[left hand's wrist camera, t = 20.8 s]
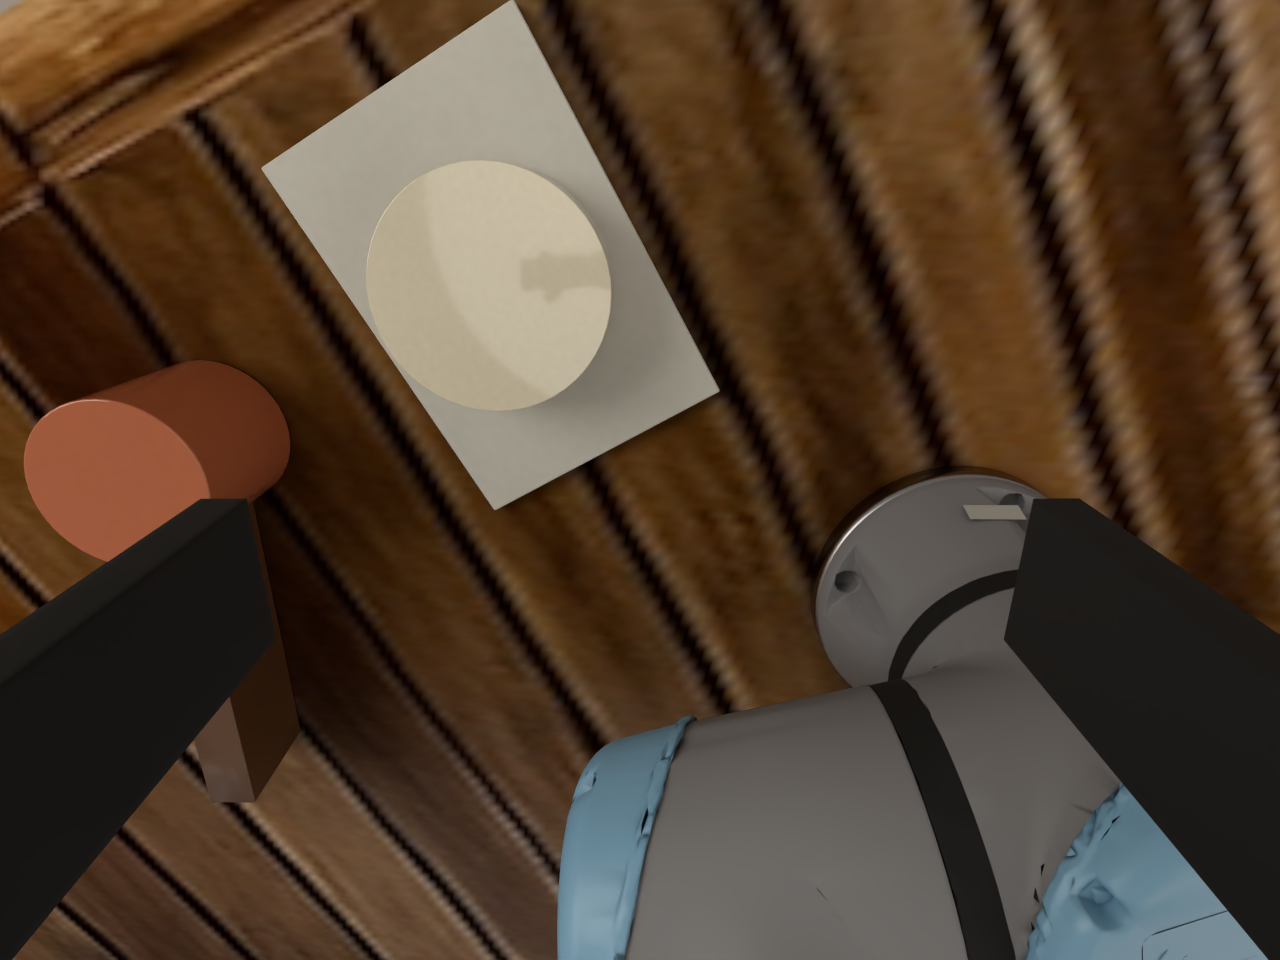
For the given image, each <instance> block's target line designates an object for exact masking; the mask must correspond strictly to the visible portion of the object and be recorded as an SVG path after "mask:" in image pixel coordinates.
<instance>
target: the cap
mask: <svg viewBox="0 0 1280 960" xmlns="http://www.w3.org/2000/svg"><path fill="white" fill-rule="evenodd" d="M366 285H367V295H368V300H369V306H370V310H371V313H372V316H373V319H374V323H375V325H376V327H377V329H378V332H379V334H380V336H381V338H382V340H383V342H384V343H385V345H386V347H387V348H388V350H389V352H390V353H391V354H392V356H393V357H394V358H395V360H396V361H397V362H398V363H399V365H400V366H401V367H402V368H403V369H404V370H405V371H406V372H407V373H408V374H409V375H410V376H411V377H412V378H413V379H415V380H416V381H417V382H418V383H419V384H421V385H422V386H423V387H425V388H426V389H428V390H429V391H431V392H433V393H434V394H436V395H437V396H440V397H442V398H444V399H446V400H448V401H450V402H453V403H455V404H458V405H461V406H464V407H468V408H473V409H478V410H486V411H512V410H517V409H523V408H527V407H530V406H534V405H537V404H540V403H542V402H544V401H546V400H548V399H551V398H553V397H554V396H556V395H558V394H559V393H561V392H562V391H564V390H565V389H567V388H568V387H569V386H570V385H571V384H572V383H574V382H575V381H576V380H577V379H578V378H579V377H580V376H581V375H582V373H583V372H584V371H585V370H586V369H587V368H588V366H589V365H590V363H591V362H592V360H593V359H594V357H595V356H596V354H597V352H598V350H599V348H600V346H601V344H602V342H603V339H604V336H605V333H606V330H607V327H608V323H609V319H610V315H611V310H612V305H613V297H614V275H613V267H612V262H611V257H610V254H609V250H608V247H607V244H606V241H605V239H604V237H603V235H602V233H601V231H600V228H599V227H598V225H597V223H596V222H595V220H594V219H593V217H592V215H591V214H590V213H589V211H588V210H587V209H586V208H585V207H584V205H583V204H582V203H581V202H580V201H579V200H578V199H577V198H576V197H575V196H574V195H573V194H572V193H571V192H570V191H569V190H567V189H566V188H564V187H563V186H562V185H560V184H559V183H558V182H556V181H554V180H552V179H551V178H549V177H547V176H545V175H543V174H541V173H539V172H536V171H533V170H531V169H528V168H525V167H521V166H518V165H514V164H510V163H505V162H501V161H493V160H464V161H459V162H454V163H449V164H446V165H443V166H441V167H438V168H435V169H432V170H431V171H429V172H427V173H425V174H423V175H421V176H420V177H418V178H417V179H415V180H414V181H413V182H411V183H410V184H409V185H407V186H406V187H405V188H404V189H403V190H402V191H401V192H400V193H399V194H398V195H397V196H396V197H395V198H394V199H393V200H392V202H391V203H390V204H389V206H388V207H387V208H386V210H385V211H384V213H383V215H382V217H381V218H380V220H379V222H378V224H377V226H376V228H375V231H374V234H373V237H372V240H371V243H370V247H369V252H368V257H367V267H366Z"/></svg>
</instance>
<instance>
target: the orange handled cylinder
mask: <svg viewBox="0 0 1280 960" xmlns="http://www.w3.org/2000/svg"><path fill="white" fill-rule="evenodd" d="M289 454H290V435H289V430H288V426H287V423H286V420H285V418H284V415H283V413H282V411H281V409H280V407H279V406H278V404H277V403H276V401H275V400H274V398H273V397H272V396H271V395H270V394H269V393H268V391H267V390H266V389H265V388H264V387H263V386H262V385H260V384H259V383H258V382H257V381H256V380H254V379H253V378H252V377H250V376H249V375H247V374H245V373H244V372H242V371H240V370H238V369H236V368H233V367H231V366H228V365H225V364H222V363H218V362H213V361H204V360H195V361H186V362H182V363H178V364H175V365H172V366H170V367H167V368H164V369H161V370H158V371H156V372H153V373H150V374H147V375H144V376H141V377H139V378H136V379H133V380H130V381H127V382H124V383H122V384H119V385H116V386H113V387H110V388H107V389H105V390H102V391H99V392H96V393H93V394H90V395H88V396H85V397H82V398H79V399H76V400H74V401H71V402H68V403H65V404H62V405H60V406H58V407H56V408H55V409H53V410H51V411H50V412H48V413H47V414H46V415H45V416H43V417H42V418H41V420H40V421H39V422H38V423H37V424H36V425H35V427H34V429H33V430H32V432H31V434H30V436H29V438H28V441H27V443H26V448H25V453H24V471H25V478H26V482H27V486H28V489H29V491H30V494H31V496H32V498H33V500H34V502H35V504H36V506H37V508H38V509H39V511H40V512H41V514H42V515H43V517H44V518H45V519H46V520H47V522H48V523H49V524H50V525H51V526H52V527H53V528H54V529H55V530H56V531H57V532H58V533H59V534H60V535H61V536H62V537H63V538H65V539H66V540H67V541H68V542H70V543H71V544H72V545H74V546H75V547H77V548H79V549H80V550H82V551H84V552H86V553H87V554H89V555H91V556H93V557H96V558H98V559H101V560H103V561H106V562H108V561H110V560H111V559H113V558H114V557H116V556H117V555H119V554H120V553H121V552H123V551H124V550H126V549H127V548H129V547H130V546H132V545H133V544H135V543H136V542H138V541H139V540H141V539H142V538H144V537H145V536H146V535H148V534H149V533H151V532H152V531H154V530H155V529H157V528H158V527H160V526H161V525H163V524H164V523H166V522H167V521H169V520H170V519H171V518H173V517H174V516H176V515H177V514H179V513H180V512H182V511H183V510H185V509H186V508H188V507H189V506H191V505H192V504H194V503H195V502H197V501H198V500H199V499H247V503H248V507H249V512H250V517H251V522H252V526H253V531H254V536H255V540H256V545H257V550H258V555H259V559H260V564H261V569H262V574H263V578H264V583H265V588H266V593H267V597H268V602H269V607H270V611H271V616H272V621H273V626H274V630H275V635H276V641H275V642H274V643H273V644H272V646H271V647H270V648H269V649H268V651H267V652H266V653H265V654H264V655H263V657H262V658H261V659H260V660H259V661H258V663H257V664H256V665H255V666H254V667H253V669H252V670H251V671H250V672H249V674H248V675H247V676H246V677H245V678H244V680H243V681H242V682H241V683H240V684H239V686H238V687H237V688H236V689H235V690H234V692H233V693H232V694H231V695H230V696H229V698H228V699H227V700H226V701H225V703H224V704H223V705H222V706H221V707H220V709H219V710H218V711H217V712H216V713H215V715H214V716H213V717H212V718H211V719H210V721H209V722H208V723H207V724H206V726H205V727H204V728H203V729H202V730H201V732H200V733H199V734H198V735H197V736H196V738H195V739H194V741H195V745H196V748H197V752H198V755H199V759H200V763H201V766H202V770H203V774H204V777H205V781H206V785H207V788H208V792H209V795H210V799H211V802H255V801H256V800H257V798H258V796H259V795H260V793H261V792H262V790H263V789H264V787H265V786H266V784H267V782H268V781H269V779H270V778H271V776H272V775H273V773H274V771H275V770H276V768H277V767H278V765H279V764H280V762H281V761H282V759H283V757H284V756H285V754H286V753H287V751H288V750H289V748H290V746H291V745H292V743H293V742H294V740H295V739H296V737H297V735H298V734H299V732H300V731H301V729H300V724H299V720H298V715H297V710H296V705H295V700H294V696H293V691H292V686H291V681H290V676H289V672H288V667H287V662H286V657H285V652H284V648H283V643H282V638H281V633H280V628H279V624H278V619H277V614H276V609H275V604H274V600H273V595H272V590H271V585H270V580H269V576H268V571H267V566H266V561H265V556H264V552H263V547H262V542H261V537H260V532H259V528H258V523H257V518H256V513H255V508H254V504H253V501H255V500H256V499H257V498H259V497H260V496H261V495H262V494H264V493H265V492H266V491H268V490H269V489H270V488H271V487H272V486H273V485H274V484H276V483H277V481H278V480H279V479H280V477H281V476H282V474H283V472H284V471H285V469H286V466H287V463H288V460H289Z"/></svg>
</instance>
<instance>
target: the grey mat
mask: <svg viewBox="0 0 1280 960" xmlns="http://www.w3.org/2000/svg"><path fill="white" fill-rule="evenodd" d="M464 160H493V161H501V162H505V163H510V164H514V165H518V166H521V167H525V168H528V169H531V170H533V171H536V172H539V173H541V174H543V175H545V176H547V177H549V178H551V179H552V180H554V181H556V182H558V183H559V184H560V185H562V186H563V187H564V188H566V189H567V190H569V191H570V192H571V193H572V194H573V195H574V196H575V197H576V198H577V199H578V200H579V201H580V202H581V203H582V204H583V205H584V207H585V208H586V209H587V210H588V211H589V213H590V214H591V215H592V217H593V219H594V220H595V222H596V223H597V225H598V227H599V228H600V231H601V233H602V235H603V237H604V239H605V241H606V244H607V247H608V250H609V254H610V257H611V262H612V267H613V275H614V297H613V305H612V310H611V315H610V319H609V323H608V327H607V330H606V333H605V336H604V339H603V342H602V344H601V346H600V348H599V350H598V352H597V354H596V356H595V357H594V359H593V360H592V362H591V363H590V365H589V366H588V368H587V369H586V370H585V371H584V372H583V373H582V375H581V376H580V377H579V378H578V379H577V380H576V381H575V382H574V383H572V384H571V385H570V386H569V387H568V388H567V389H565V390H564V391H562V392H561V393H559V394H558V395H556V396H554V397H553V398H551V399H548V400H546V401H544V402H542V403H540V404H537V405H534V406H530V407H527V408H523V409H517V410H512V411H486V410H478V409H473V408H468V407H464V406H461V405H458V404H455V403H453V402H450V401H448V400H446V399H444V398H442V397H440V396H437V395H436V394H434V393H433V392H431V391H429V390H428V389H426V388H425V387H423V386H422V385H421V384H419V383H418V382H417V381H416V380H415V379H413V378H412V377H411V376H410V375H409V374H408V373H407V372H406V371H405V370H404V369H403V368H402V367H401V366H400V365H399V363H398V362H397V361H396V360H395V358H394V357H393V356H392V354H391V353H390V352H389V350H388V348H387V347H386V345H385V343H384V342H383V340H382V338H381V336H380V334H379V332H378V329H377V327H376V325H375V323H374V319H373V316H372V313H371V310H370V306H369V300H368V295H367V285H366V267H367V257H368V252H369V247H370V243H371V240H372V237H373V234H374V231H375V228H376V226H377V224H378V222H379V220H380V218H381V217H382V215H383V213H384V211H385V210H386V208H387V207H388V206H389V204H390V203H391V202H392V200H393V199H394V198H395V197H396V196H397V195H398V194H399V193H400V192H401V191H402V190H403V189H404V188H405V187H406V186H407V185H409V184H410V183H411V182H413V181H414V180H415V179H417V178H418V177H420V176H421V175H423V174H425V173H427V172H429V171H431V170H432V169H435V168H438V167H441V166H443V165H446V164H449V163H454V162H459V161H464ZM262 170H263V172H264V173H265V175H266V176H267V178H268V179H269V181H270V182H271V184H272V185H273V186H274V188H275V189H276V191H277V192H278V194H279V195H280V197H281V198H282V200H283V201H284V203H285V204H286V206H287V207H288V208H289V210H290V211H291V213H292V214H293V216H294V217H295V219H296V220H297V222H298V223H299V225H300V226H301V228H302V229H303V230H304V232H305V233H306V235H307V236H308V238H309V239H310V241H311V242H312V244H313V245H314V247H315V248H316V249H317V251H318V252H319V254H320V255H321V257H322V258H323V260H324V261H325V263H326V264H327V266H328V267H329V269H330V270H331V271H332V273H333V274H334V276H335V277H336V279H337V280H338V282H339V283H340V285H341V286H342V288H343V289H344V291H345V292H346V293H347V295H348V296H349V298H350V299H351V301H352V302H353V304H354V305H355V307H356V308H357V310H358V311H359V312H360V314H361V315H362V317H363V318H364V320H365V321H366V323H367V324H368V326H369V327H370V329H371V330H372V332H373V333H374V334H375V336H376V337H377V339H378V340H379V342H380V343H381V345H382V346H383V348H384V349H385V351H386V352H387V354H388V355H389V356H390V358H391V359H392V361H393V362H394V364H395V365H396V367H397V368H398V370H399V371H400V373H401V374H402V375H403V377H404V378H405V380H406V381H407V383H408V384H409V386H410V387H411V389H412V390H413V392H414V393H415V395H416V396H417V397H418V399H419V400H420V402H421V403H422V405H423V406H424V408H425V409H426V411H427V412H428V414H429V415H430V416H431V418H432V419H433V421H434V422H435V424H436V425H437V427H438V428H439V430H440V431H441V433H442V434H443V436H444V437H445V438H446V440H447V441H448V443H449V444H450V446H451V447H452V449H453V450H454V452H455V453H456V455H457V456H458V458H459V459H460V460H461V462H462V463H463V465H464V466H465V468H466V469H467V471H468V472H469V474H470V475H471V477H472V478H473V479H474V481H475V482H476V484H477V485H478V487H479V488H480V490H481V491H482V493H483V494H484V496H485V497H486V499H487V500H488V501H489V503H490V504H491V506H492V507H493V509H494V510H497V509H499V508H501V507H503V506H504V505H506V504H508V503H510V502H512V501H514V500H516V499H518V498H520V497H521V496H523V495H525V494H527V493H529V492H531V491H533V490H535V489H536V488H538V487H540V486H542V485H544V484H546V483H548V482H550V481H552V480H553V479H555V478H557V477H559V476H561V475H563V474H565V473H567V472H569V471H570V470H572V469H574V468H576V467H578V466H580V465H582V464H584V463H586V462H587V461H589V460H591V459H593V458H595V457H597V456H599V455H601V454H603V453H604V452H606V451H608V450H610V449H612V448H614V447H616V446H618V445H620V444H621V443H623V442H625V441H627V440H629V439H631V438H633V437H635V436H637V435H638V434H640V433H642V432H644V431H646V430H648V429H650V428H652V427H653V426H655V425H657V424H659V423H661V422H663V421H665V420H667V419H669V418H670V417H672V416H674V415H676V414H678V413H680V412H682V411H684V410H686V409H687V408H689V407H691V406H693V405H695V404H697V403H699V402H701V401H703V400H704V399H706V398H708V397H710V396H712V395H714V394H716V393H718V392H719V388H718V386H717V384H716V382H715V380H714V378H713V376H712V374H711V373H710V371H709V369H708V367H707V365H706V363H705V361H704V359H703V357H702V355H701V354H700V352H699V350H698V348H697V346H696V344H695V342H694V340H693V338H692V336H691V335H690V333H689V331H688V329H687V327H686V325H685V323H684V321H683V319H682V317H681V316H680V314H679V312H678V310H677V308H676V306H675V304H674V302H673V300H672V298H671V297H670V295H669V293H668V291H667V289H666V287H665V285H664V283H663V281H662V279H661V278H660V276H659V274H658V272H657V270H656V268H655V266H654V264H653V262H652V260H651V259H650V257H649V255H648V253H647V251H646V249H645V247H644V245H643V243H642V241H641V240H640V238H639V236H638V234H637V232H636V230H635V228H634V226H633V224H632V222H631V221H630V219H629V217H628V215H627V213H626V211H625V209H624V207H623V205H622V203H621V202H620V200H619V198H618V196H617V194H616V192H615V190H614V188H613V186H612V185H611V183H610V181H609V179H608V177H607V175H606V173H605V171H604V169H603V167H602V166H601V164H600V162H599V160H598V158H597V156H596V154H595V152H594V150H593V148H592V147H591V145H590V143H589V141H588V139H587V137H586V135H585V133H584V131H583V129H582V128H581V126H580V124H579V122H578V120H577V118H576V116H575V114H574V112H573V110H572V109H571V107H570V105H569V103H568V101H567V99H566V97H565V95H564V93H563V91H562V90H561V88H560V86H559V84H558V82H557V80H556V78H555V76H554V74H553V72H552V71H551V69H550V67H549V65H548V63H547V61H546V59H545V57H544V55H543V53H542V52H541V50H540V48H539V46H538V44H537V42H536V40H535V38H534V36H533V34H532V33H531V31H530V29H529V27H528V25H527V23H526V21H525V19H524V17H523V15H522V14H521V12H520V10H519V8H518V6H517V4H516V2H515V1H514V0H510V1H508V2H507V3H505V4H504V5H502V6H501V7H499V8H498V9H497V10H495V11H494V12H492V13H491V14H489V15H488V16H486V17H485V18H483V19H482V20H480V21H479V22H477V23H476V24H474V25H473V26H471V27H470V28H468V29H467V30H465V31H464V32H462V33H461V34H459V35H458V36H456V37H455V38H453V39H452V40H450V41H449V42H447V43H446V44H445V45H443V46H442V47H440V48H439V49H437V50H436V51H434V52H433V53H431V54H430V55H428V56H427V57H425V58H424V59H422V60H421V61H419V62H418V63H416V64H415V65H413V66H412V67H410V68H409V69H407V70H406V71H404V72H403V73H401V74H400V75H398V76H397V77H395V78H394V79H393V80H391V81H390V82H388V83H387V84H385V85H384V86H382V87H381V88H379V89H378V90H376V91H375V92H373V93H372V94H370V95H369V96H367V97H366V98H364V99H363V100H361V101H360V102H358V103H357V104H355V105H354V106H352V107H351V108H349V109H348V110H346V111H345V112H343V113H342V114H341V115H339V116H338V117H336V118H335V119H333V120H332V121H330V122H329V123H327V124H326V125H324V126H323V127H321V128H320V129H318V130H317V131H315V132H314V133H312V134H311V135H309V136H308V137H306V138H305V139H303V140H302V141H300V142H299V143H297V144H296V145H294V146H293V147H292V148H290V149H289V150H287V151H286V152H284V153H283V154H281V155H280V156H278V157H277V158H275V159H274V160H272V161H271V162H269V163H268V164H266V165H265V166H263V167H262Z"/></svg>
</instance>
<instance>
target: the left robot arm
mask: <svg viewBox="0 0 1280 960" xmlns="http://www.w3.org/2000/svg"><path fill="white" fill-rule="evenodd" d="M811 611H812V616H813V621H814V624H815V627H816V630H817V633H818V636H819V638H820V641H821V643H822V645H823V648H824V650H825V652H826V654H827V656H828V658H829V660H830V661H831V663H832V664H833V666H834V667H835V668H836V670H837V671H838V672H839V673H840V675H841V676H842V677H843V678H844V679H845V680H846V681H847V682H848V683H849V684H850V685H851V686H852V687H853V688H848V689H844V690H839V691H834V692H829V693H825V694H820V695H815V696H810V697H806V698H801V699H796V700H791V701H787V702H782V703H777V704H772V705H768V706H763V707H758V708H753V709H749V710H744V711H739V712H734V713H730V714H725V715H720V716H715V717H711V718H706V719H701V720H697V718H695V717H694V716H693V715H692V716H686V717H683V718H681V719H680V720H679V721H678V722H677V723H676V724H673V725H670V726H666V727H662V728H658V729H655V730H651V731H647V732H643V733H640V734H636V735H632V736H628V737H624V738H621V739H618V740H615V741H613V742H611V743H609V744H607V745H606V746H604V747H603V748H602V749H600V750H599V751H598V752H597V753H596V754H595V755H594V756H593V758H592V759H591V760H590V762H589V763H588V764H587V766H586V768H585V769H584V771H583V773H582V775H581V777H580V779H579V782H578V784H577V787H576V790H575V793H574V797H573V801H572V805H571V808H570V811H569V815H568V819H567V825H566V830H565V836H564V843H563V849H562V857H561V867H560V879H559V893H558V923H557V936H558V960H1280V635H1279V634H1278V633H1276V632H1275V631H1273V630H1272V629H1270V628H1269V627H1267V626H1266V625H1264V624H1263V623H1262V622H1260V621H1259V620H1257V619H1256V618H1254V617H1253V616H1251V615H1250V614H1248V613H1247V612H1245V611H1244V610H1242V609H1241V608H1239V607H1238V606H1237V605H1235V604H1234V603H1232V602H1231V601H1229V600H1228V599H1226V598H1225V597H1223V596H1222V595H1220V594H1219V593H1217V592H1216V591H1214V590H1213V589H1212V588H1210V587H1209V586H1207V585H1206V584H1204V583H1203V582H1201V581H1200V580H1198V579H1197V578H1195V577H1194V576H1192V575H1191V574H1189V573H1188V572H1186V571H1185V570H1184V569H1182V568H1181V567H1179V566H1178V565H1176V564H1175V563H1173V562H1172V561H1170V560H1169V559H1167V558H1166V557H1164V556H1163V555H1161V554H1160V553H1159V552H1157V551H1156V550H1154V549H1153V548H1151V547H1150V546H1148V545H1147V544H1145V543H1144V542H1142V541H1141V540H1139V539H1138V538H1136V537H1135V536H1134V535H1132V534H1131V533H1129V532H1128V531H1126V530H1125V529H1123V528H1122V527H1120V526H1119V525H1117V524H1116V523H1114V522H1113V521H1111V520H1110V519H1109V518H1107V517H1106V516H1104V515H1103V514H1101V513H1100V512H1098V511H1097V510H1095V509H1094V508H1092V507H1091V506H1089V505H1088V504H1086V503H1085V502H1083V501H1082V500H1081V499H1048V498H1047V497H1046V496H1044V495H1043V494H1042V493H1040V492H1039V491H1037V490H1036V489H1035V488H1033V487H1032V486H1030V485H1029V484H1027V483H1025V482H1024V481H1022V480H1020V479H1018V478H1015V477H1013V476H1011V475H1008V474H1005V473H1002V472H999V471H995V470H991V469H987V468H979V467H966V466H956V467H943V468H936V469H931V470H926V471H922V472H918V473H915V474H912V475H909V476H906V477H904V478H901V479H899V480H897V481H894V482H892V483H890V484H888V485H886V486H885V487H883V488H881V489H879V490H878V491H876V492H875V493H873V494H871V495H870V496H868V497H867V498H866V499H865V500H863V501H862V502H861V503H859V504H858V505H857V506H856V507H855V508H854V509H853V510H852V511H851V512H849V513H848V514H847V515H846V517H845V518H844V519H843V520H842V521H841V522H840V523H839V524H838V526H837V527H836V528H835V530H834V531H833V532H832V534H831V535H830V537H829V539H828V540H827V542H826V544H825V545H824V547H823V549H822V552H821V554H820V556H819V558H818V561H817V564H816V567H815V570H814V574H813V578H812V585H811ZM275 641H276V635H275V630H274V626H273V621H272V616H271V611H270V607H269V602H268V597H267V593H266V588H265V583H264V578H263V574H262V569H261V564H260V559H259V555H258V550H257V545H256V540H255V536H254V531H253V526H252V522H251V517H250V512H249V507H248V503H247V499H199V500H198V501H197V502H195V503H194V504H192V505H191V506H189V507H188V508H186V509H185V510H183V511H182V512H180V513H179V514H177V515H176V516H174V517H173V518H171V519H170V520H169V521H167V522H166V523H164V524H163V525H161V526H160V527H158V528H157V529H155V530H154V531H152V532H151V533H149V534H148V535H146V536H145V537H144V538H142V539H141V540H139V541H138V542H136V543H135V544H133V545H132V546H130V547H129V548H127V549H126V550H124V551H123V552H121V553H120V554H119V555H117V556H116V557H114V558H113V559H111V560H110V561H108V562H107V563H105V564H104V565H102V566H101V567H99V568H98V569H96V570H95V571H94V572H92V573H91V574H89V575H88V576H86V577H85V578H83V579H82V580H80V581H79V582H77V583H76V584H74V585H73V586H71V587H70V588H68V589H67V590H66V591H64V592H63V593H61V594H60V595H58V596H57V597H55V598H54V599H52V600H51V601H49V602H48V603H46V604H45V605H43V606H42V607H41V608H39V609H38V610H36V611H35V612H33V613H32V614H30V615H29V616H27V617H26V618H24V619H23V620H21V621H20V622H18V623H17V624H16V625H14V626H13V627H11V628H10V629H8V630H7V631H5V632H4V633H2V634H1V635H0V960H12V959H13V958H14V956H15V955H16V954H17V953H18V952H19V950H20V949H21V948H22V947H23V946H24V944H25V943H26V942H27V941H28V940H29V938H30V937H31V936H32V935H33V933H34V932H35V931H36V930H37V929H38V927H39V926H40V925H41V924H42V923H43V921H44V920H45V919H46V918H47V917H48V915H49V914H50V913H51V912H52V911H53V909H54V908H55V907H56V906H57V904H58V903H59V902H60V901H61V900H62V898H63V897H64V896H65V895H66V894H67V892H68V891H69V890H70V889H71V888H72V886H73V885H74V884H75V883H76V881H77V880H78V879H79V878H80V877H81V875H82V874H83V873H84V872H85V871H86V869H87V868H88V867H89V866H90V865H91V863H92V862H93V861H94V860H95V859H96V857H97V856H98V855H99V854H100V852H101V851H102V850H103V849H104V848H105V846H106V845H107V844H108V843H109V842H110V840H111V839H112V838H113V837H114V836H115V834H116V833H117V832H118V831H119V830H120V828H121V827H122V826H123V825H124V823H125V822H126V821H127V820H128V819H129V817H130V816H131V815H132V814H133V813H134V811H135V810H136V809H137V808H138V807H139V805H140V804H141V803H142V802H143V800H144V799H145V798H146V797H147V796H148V794H149V793H150V792H151V791H152V790H153V788H154V787H155V786H156V785H157V784H158V782H159V781H160V780H161V779H162V778H163V776H164V775H165V774H166V773H167V771H168V770H169V769H170V768H171V767H172V765H173V764H174V763H175V762H176V761H177V759H178V758H179V757H180V756H181V755H182V753H183V752H184V751H185V750H186V748H187V747H188V746H189V745H190V744H191V742H192V741H193V740H194V739H195V738H196V736H197V735H198V734H199V733H200V732H201V730H202V729H203V728H204V727H205V726H206V724H207V723H208V722H209V721H210V719H211V718H212V717H213V716H214V715H215V713H216V712H217V711H218V710H219V709H220V707H221V706H222V705H223V704H224V703H225V701H226V700H227V699H228V698H229V696H230V695H231V694H232V693H233V692H234V690H235V689H236V688H237V687H238V686H239V684H240V683H241V682H242V681H243V680H244V678H245V677H246V676H247V675H248V674H249V672H250V671H251V670H252V669H253V667H254V666H255V665H256V664H257V663H258V661H259V660H260V659H261V658H262V657H263V655H264V654H265V653H266V652H267V651H268V649H269V648H270V647H271V646H272V644H273V643H274V642H275Z"/></svg>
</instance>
